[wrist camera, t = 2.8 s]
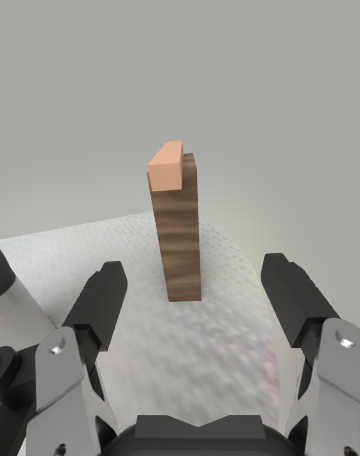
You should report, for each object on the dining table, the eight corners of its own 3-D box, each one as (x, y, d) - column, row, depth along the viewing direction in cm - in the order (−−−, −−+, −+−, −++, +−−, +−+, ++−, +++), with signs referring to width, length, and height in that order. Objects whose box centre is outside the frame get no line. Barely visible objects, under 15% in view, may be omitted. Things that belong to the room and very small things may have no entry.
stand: (201, 300, 45) (196, 169, 29) (169, 301, 46) (146, 173, 29) (197, 258, 59) (192, 153, 42) (172, 259, 59) (159, 156, 43)
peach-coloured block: (181, 189, 21) (179, 162, 20) (152, 191, 21) (147, 165, 20) (183, 154, 42) (182, 140, 40) (168, 155, 42) (166, 141, 40)
